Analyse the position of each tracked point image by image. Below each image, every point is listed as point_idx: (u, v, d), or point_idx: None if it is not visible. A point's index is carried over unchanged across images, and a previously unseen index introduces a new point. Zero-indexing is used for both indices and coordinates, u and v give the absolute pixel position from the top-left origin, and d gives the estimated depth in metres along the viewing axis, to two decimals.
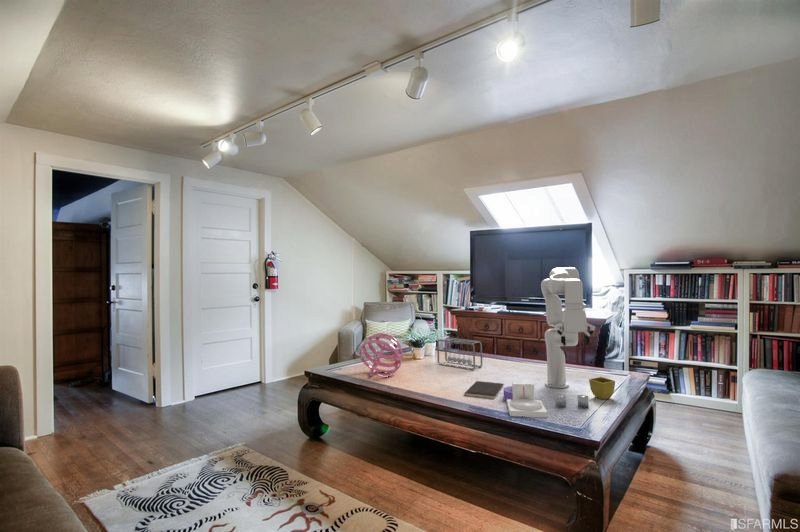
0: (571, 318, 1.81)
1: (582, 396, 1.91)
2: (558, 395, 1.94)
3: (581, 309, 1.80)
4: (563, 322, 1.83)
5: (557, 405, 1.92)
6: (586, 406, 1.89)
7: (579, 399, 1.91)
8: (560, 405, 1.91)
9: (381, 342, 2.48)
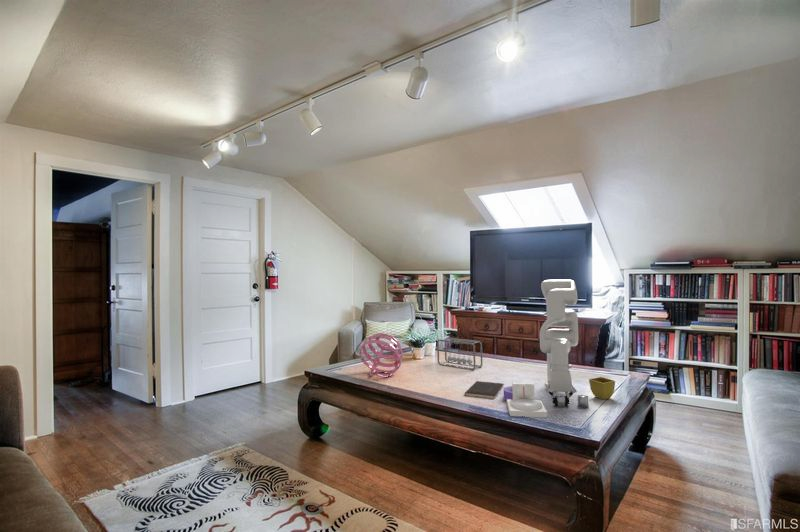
0: (557, 378, 1.91)
1: (582, 396, 1.91)
2: (558, 395, 1.94)
3: (566, 370, 1.90)
4: (549, 382, 1.93)
5: (557, 405, 1.92)
6: (586, 406, 1.89)
7: (579, 399, 1.91)
8: (560, 405, 1.91)
9: (381, 342, 2.48)
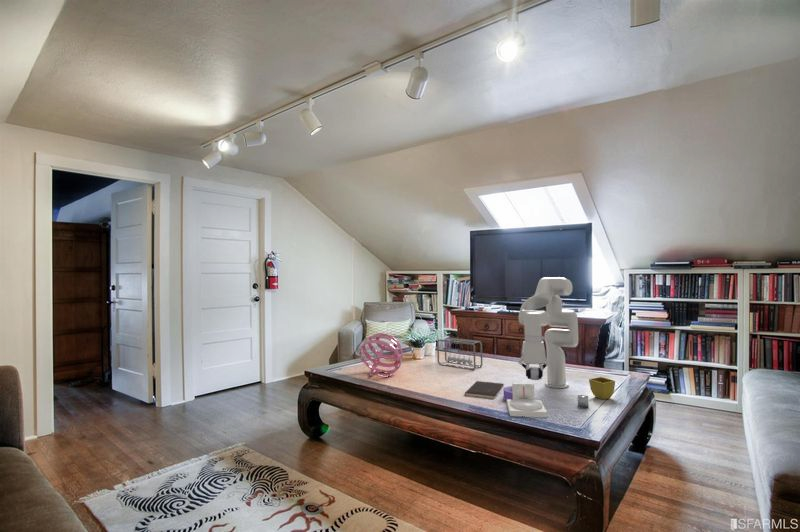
0: (530, 350, 1.86)
1: (582, 396, 1.91)
2: (531, 367, 1.88)
3: (539, 341, 1.85)
4: (522, 353, 1.88)
5: (530, 377, 1.87)
6: (586, 406, 1.89)
7: (579, 399, 1.91)
8: (533, 377, 1.86)
9: (381, 342, 2.48)
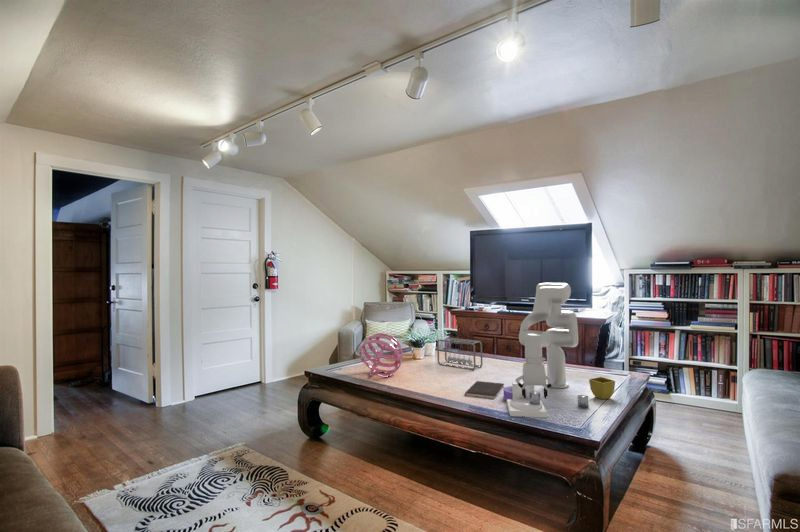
0: (530, 372, 1.86)
1: (582, 396, 1.91)
2: (532, 392, 1.88)
3: (540, 363, 1.85)
4: (523, 375, 1.88)
5: (531, 402, 1.87)
6: (586, 406, 1.89)
7: (579, 399, 1.91)
8: (534, 402, 1.86)
9: (381, 342, 2.48)
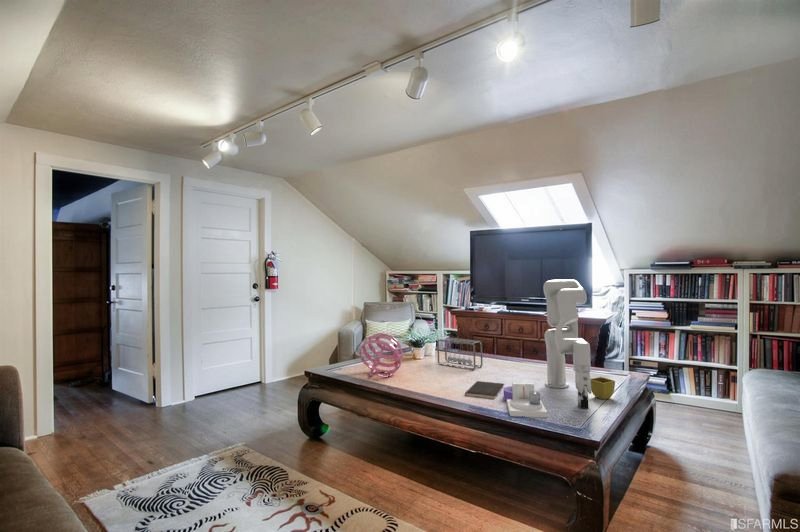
0: (575, 376, 1.94)
1: None
2: (532, 392, 1.88)
3: (577, 370, 1.90)
4: None
5: (531, 402, 1.87)
6: None
7: (579, 399, 1.91)
8: (534, 402, 1.86)
9: (381, 342, 2.48)
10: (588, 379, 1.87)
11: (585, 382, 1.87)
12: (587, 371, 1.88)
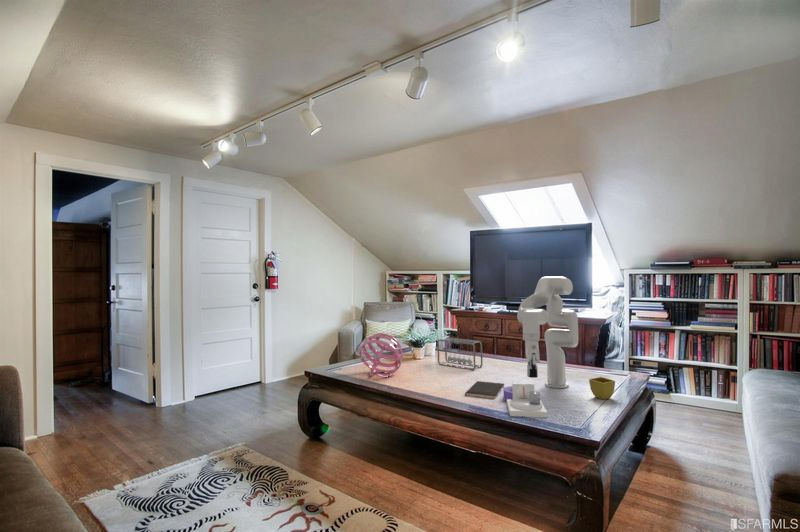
0: (525, 346, 1.92)
1: None
2: (532, 392, 1.88)
3: (526, 339, 1.88)
4: None
5: (531, 402, 1.87)
6: None
7: (528, 368, 1.89)
8: (534, 402, 1.86)
9: (381, 342, 2.48)
10: (536, 347, 1.85)
11: (533, 350, 1.85)
12: (536, 340, 1.86)
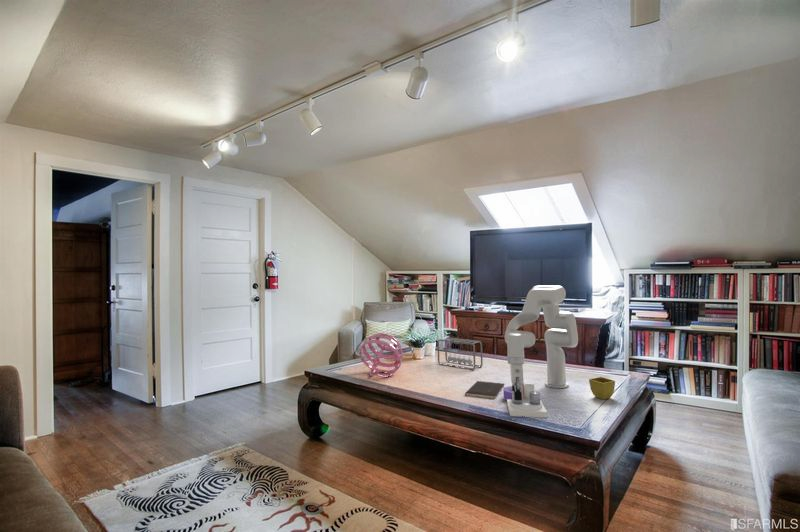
0: (510, 369, 1.91)
1: None
2: (532, 392, 1.88)
3: (510, 363, 1.87)
4: None
5: (531, 402, 1.87)
6: (519, 402, 1.87)
7: (513, 395, 1.88)
8: (534, 402, 1.86)
9: (381, 342, 2.48)
10: (520, 371, 1.84)
11: (517, 374, 1.84)
12: (520, 363, 1.86)
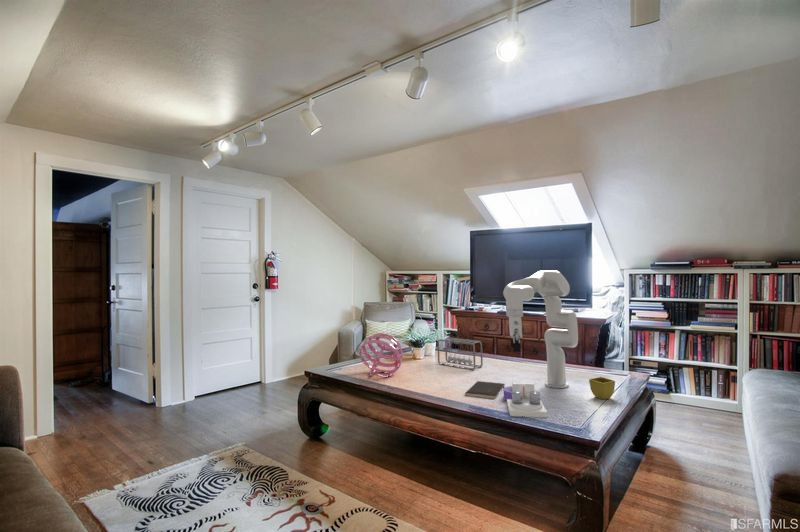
0: None
1: (516, 392, 1.89)
2: (532, 392, 1.88)
3: (509, 315, 1.88)
4: None
5: (531, 402, 1.87)
6: (519, 402, 1.87)
7: (513, 395, 1.88)
8: (534, 402, 1.86)
9: (381, 342, 2.48)
10: (519, 323, 1.84)
11: (516, 326, 1.85)
12: (518, 315, 1.86)
